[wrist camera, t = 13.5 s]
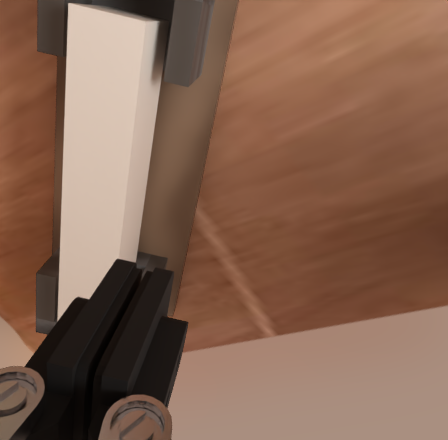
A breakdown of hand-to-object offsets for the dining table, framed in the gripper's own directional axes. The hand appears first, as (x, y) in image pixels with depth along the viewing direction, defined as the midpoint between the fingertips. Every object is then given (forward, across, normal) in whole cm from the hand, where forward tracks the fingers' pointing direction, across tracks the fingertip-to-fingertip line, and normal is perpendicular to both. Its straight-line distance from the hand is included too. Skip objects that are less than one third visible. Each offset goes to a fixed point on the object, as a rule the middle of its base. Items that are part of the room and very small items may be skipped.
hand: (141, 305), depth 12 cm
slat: (+19, +7, +4) cm, 21 cm away
